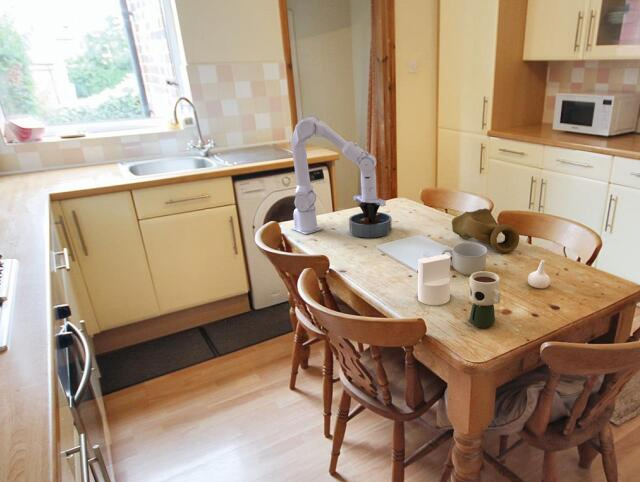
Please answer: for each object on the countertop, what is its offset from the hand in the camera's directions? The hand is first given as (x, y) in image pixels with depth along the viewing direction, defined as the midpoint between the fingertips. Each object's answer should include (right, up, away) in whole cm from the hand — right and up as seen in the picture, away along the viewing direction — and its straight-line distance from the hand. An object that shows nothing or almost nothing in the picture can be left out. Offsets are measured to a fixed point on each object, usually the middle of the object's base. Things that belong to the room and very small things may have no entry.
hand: (370, 221), depth 182 cm
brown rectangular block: (0, -1, 0) cm, 1 cm away
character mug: (+30, -32, -64) cm, 78 cm away
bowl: (0, -4, +2) cm, 4 cm away
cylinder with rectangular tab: (+19, -26, -51) cm, 61 cm away
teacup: (+31, -19, -35) cm, 50 cm away
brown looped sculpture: (+41, -10, -14) cm, 45 cm away
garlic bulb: (+51, -23, -46) cm, 72 cm away
